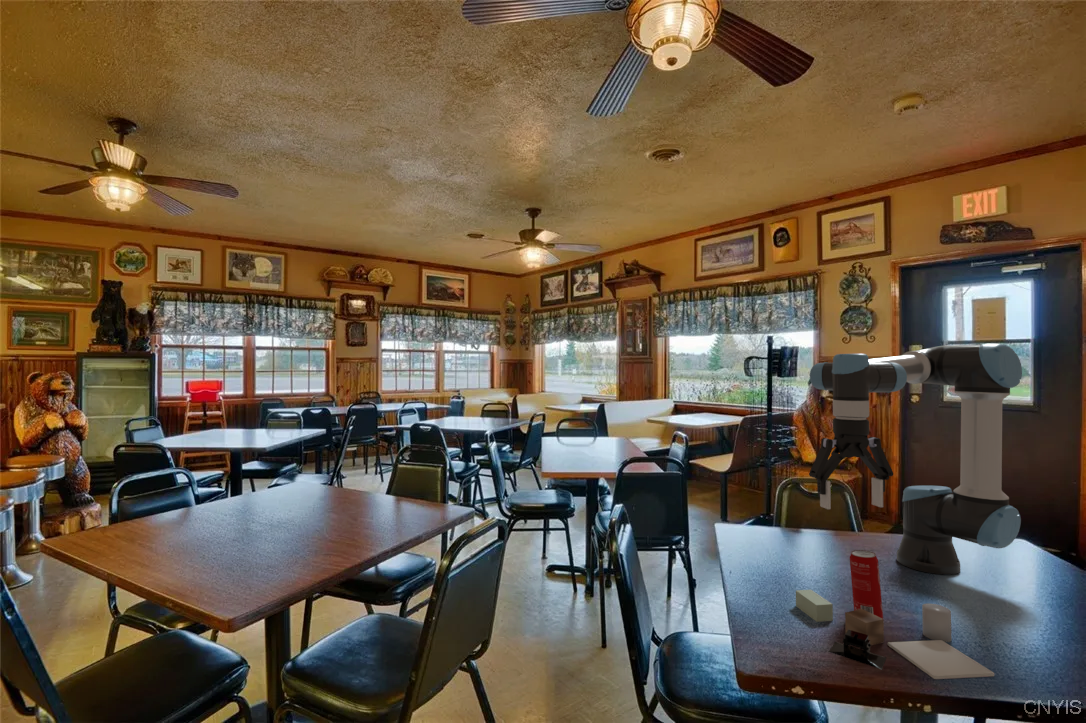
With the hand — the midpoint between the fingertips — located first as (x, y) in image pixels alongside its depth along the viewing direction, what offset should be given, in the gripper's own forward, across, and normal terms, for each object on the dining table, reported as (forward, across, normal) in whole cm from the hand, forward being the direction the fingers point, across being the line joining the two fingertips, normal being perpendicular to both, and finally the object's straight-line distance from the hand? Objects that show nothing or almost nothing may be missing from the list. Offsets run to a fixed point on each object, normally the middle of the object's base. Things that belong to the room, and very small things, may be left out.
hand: (851, 507), depth 125 cm
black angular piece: (+26, +12, +17) cm, 33 cm away
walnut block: (+25, +6, +11) cm, 28 cm away
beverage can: (+25, -2, +3) cm, 25 cm away
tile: (+25, -2, +21) cm, 33 cm away
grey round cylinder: (+25, -10, +12) cm, 30 cm away
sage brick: (+25, +9, -1) cm, 27 cm away
